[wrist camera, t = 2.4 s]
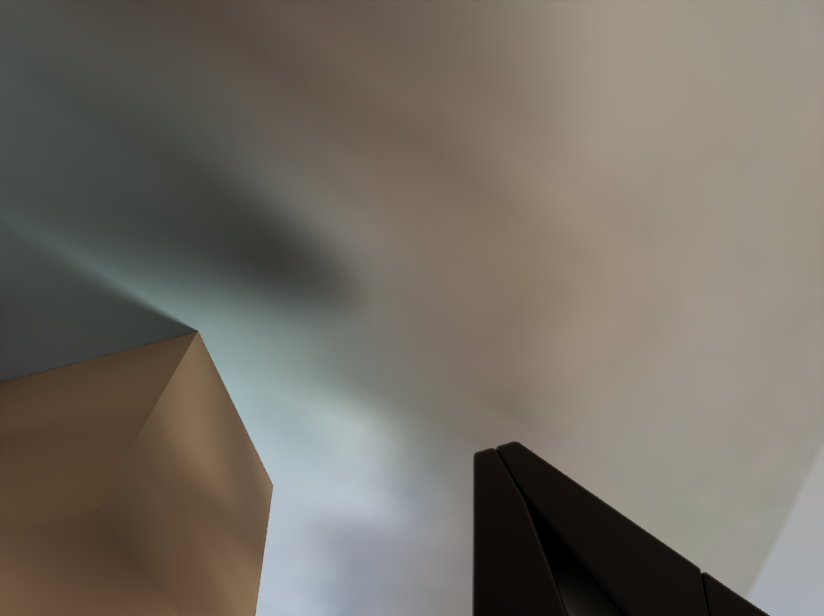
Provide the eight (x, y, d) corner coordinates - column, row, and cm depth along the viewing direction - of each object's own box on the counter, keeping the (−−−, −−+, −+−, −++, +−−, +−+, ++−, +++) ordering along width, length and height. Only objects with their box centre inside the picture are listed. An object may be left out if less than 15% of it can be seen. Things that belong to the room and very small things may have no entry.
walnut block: (273, 482, 12) (243, 700, 8) (90, 536, 12) (-53, 797, 7) (199, 329, 10) (96, 507, 6) (-28, 389, 10) (-336, 632, 5)
